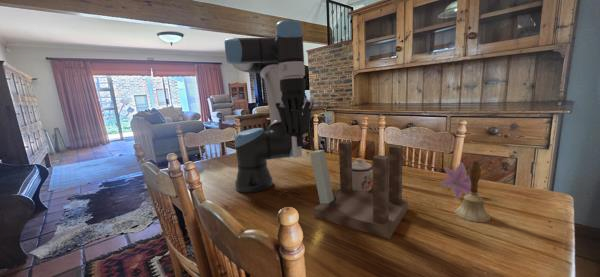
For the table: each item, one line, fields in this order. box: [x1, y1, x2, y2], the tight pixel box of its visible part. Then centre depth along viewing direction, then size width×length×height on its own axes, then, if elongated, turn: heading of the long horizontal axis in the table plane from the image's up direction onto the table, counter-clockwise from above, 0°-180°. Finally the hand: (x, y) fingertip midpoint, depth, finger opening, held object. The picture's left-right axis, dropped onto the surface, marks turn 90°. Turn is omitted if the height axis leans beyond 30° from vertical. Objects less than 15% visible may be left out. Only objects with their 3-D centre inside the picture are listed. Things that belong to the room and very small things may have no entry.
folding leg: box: [309, 149, 334, 204], centre depth 74 cm, size 3×3×15 cm
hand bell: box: [454, 159, 492, 223], centre depth 70 cm, size 8×8×16 cm
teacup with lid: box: [352, 157, 373, 193], centre depth 95 cm, size 12×9×12 cm
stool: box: [313, 140, 409, 240], centre depth 74 cm, size 22×18×20 cm
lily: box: [440, 162, 471, 200], centre depth 85 cm, size 12×12×10 cm
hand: (297, 156), depth 78 cm, fingers closed
